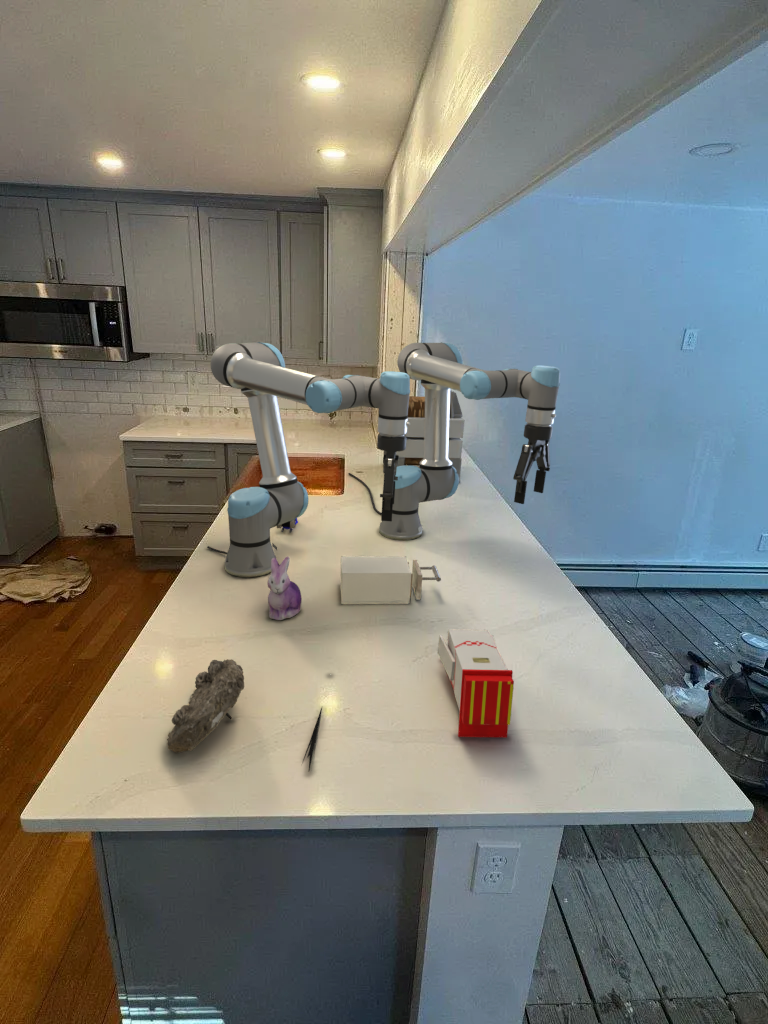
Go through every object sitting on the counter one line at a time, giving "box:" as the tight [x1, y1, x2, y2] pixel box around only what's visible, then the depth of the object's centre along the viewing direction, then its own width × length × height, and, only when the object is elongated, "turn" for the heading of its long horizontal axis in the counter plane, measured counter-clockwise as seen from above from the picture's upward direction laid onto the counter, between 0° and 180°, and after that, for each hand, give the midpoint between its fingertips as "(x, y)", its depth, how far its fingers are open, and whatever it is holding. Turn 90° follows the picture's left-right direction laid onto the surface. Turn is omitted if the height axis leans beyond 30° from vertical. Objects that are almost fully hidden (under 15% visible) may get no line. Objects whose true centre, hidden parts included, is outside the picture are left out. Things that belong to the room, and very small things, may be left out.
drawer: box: [408, 559, 442, 601], centre depth 156 cm, size 23×10×7 cm, turn 95°
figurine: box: [267, 556, 302, 621], centre depth 143 cm, size 9×10×15 cm
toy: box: [437, 628, 515, 738], centre depth 117 cm, size 12×13×30 cm
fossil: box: [166, 658, 245, 754], centre depth 106 cm, size 22×10×15 cm
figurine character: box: [276, 518, 299, 533], centre depth 200 cm, size 7×8×15 cm
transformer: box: [383, 389, 465, 483], centre depth 268 cm, size 34×33×41 cm
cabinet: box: [340, 555, 412, 605], centre depth 155 cm, size 18×11×9 cm, turn 95°
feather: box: [301, 673, 332, 771], centre depth 108 cm, size 2×28×2 cm
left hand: (387, 511), depth 153 cm, fingers open, 13 cm apart
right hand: (528, 497), depth 163 cm, fingers open, 13 cm apart
